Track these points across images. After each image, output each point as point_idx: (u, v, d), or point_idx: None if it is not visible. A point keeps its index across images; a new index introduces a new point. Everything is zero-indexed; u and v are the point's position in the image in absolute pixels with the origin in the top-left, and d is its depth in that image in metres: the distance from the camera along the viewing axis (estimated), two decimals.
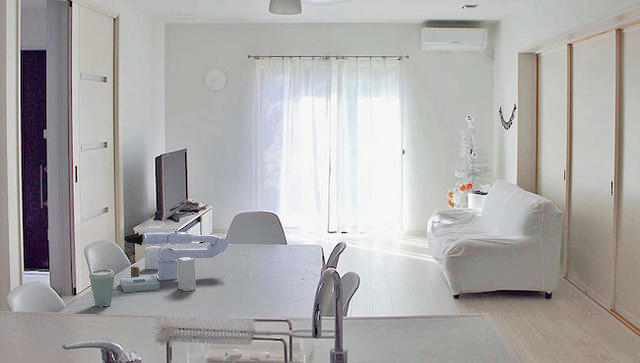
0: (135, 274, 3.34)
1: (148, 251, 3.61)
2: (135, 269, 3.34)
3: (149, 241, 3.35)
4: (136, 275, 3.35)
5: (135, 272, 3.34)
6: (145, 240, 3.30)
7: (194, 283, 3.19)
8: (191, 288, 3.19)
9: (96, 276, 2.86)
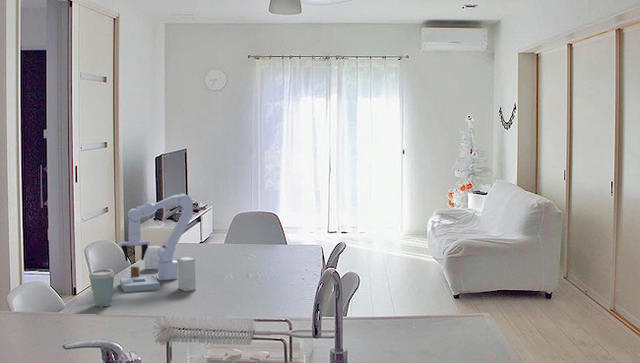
0: (135, 274, 3.34)
1: (148, 251, 3.61)
2: (135, 269, 3.34)
3: (129, 238, 3.32)
4: (136, 275, 3.35)
5: (135, 272, 3.34)
6: (119, 244, 3.32)
7: (194, 283, 3.19)
8: (191, 288, 3.19)
9: (96, 276, 2.86)
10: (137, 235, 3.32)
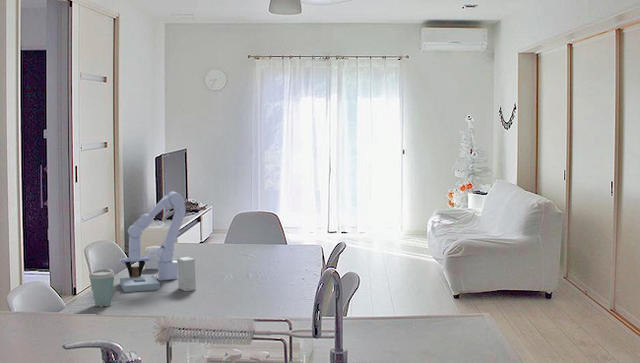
0: (135, 274, 3.34)
1: (148, 251, 3.61)
2: (135, 269, 3.34)
3: (129, 255, 3.33)
4: (136, 275, 3.35)
5: (135, 272, 3.34)
6: None
7: (194, 283, 3.19)
8: (191, 288, 3.19)
9: (96, 276, 2.86)
10: (137, 251, 3.33)
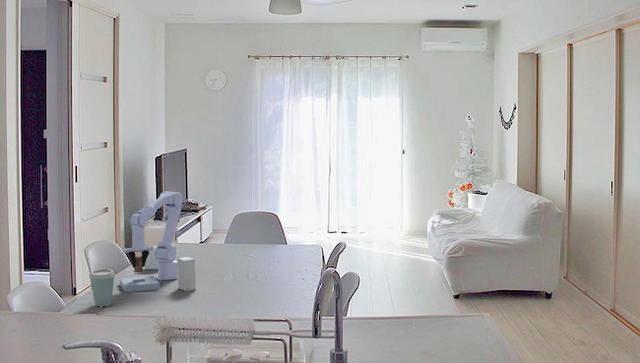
0: (139, 264, 3.23)
1: None
2: (139, 259, 3.23)
3: (133, 244, 3.22)
4: (140, 265, 3.24)
5: (139, 262, 3.23)
6: (123, 251, 3.21)
7: (194, 283, 3.19)
8: (191, 288, 3.19)
9: (96, 276, 2.86)
10: (142, 241, 3.22)
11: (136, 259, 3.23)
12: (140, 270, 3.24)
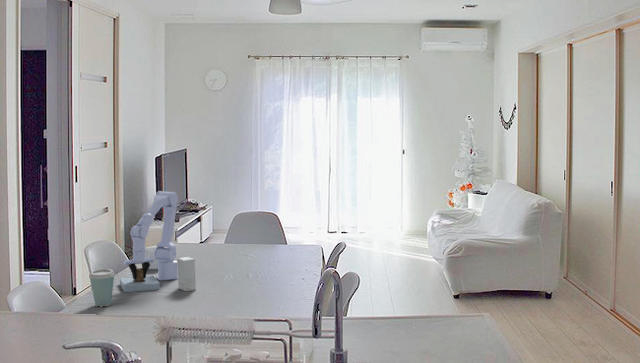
0: (140, 276, 3.23)
1: (148, 251, 3.61)
2: (140, 271, 3.23)
3: (134, 256, 3.21)
4: (141, 277, 3.23)
5: (140, 274, 3.23)
6: (124, 263, 3.19)
7: (194, 283, 3.19)
8: (191, 288, 3.19)
9: (96, 276, 2.86)
10: (143, 253, 3.22)
11: (137, 271, 3.22)
12: None
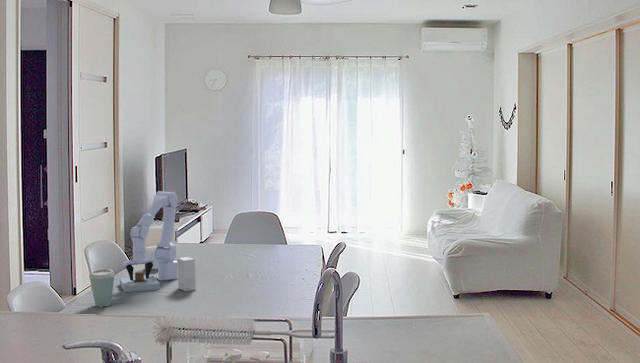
0: (140, 280, 3.23)
1: (148, 251, 3.61)
2: (140, 274, 3.23)
3: (134, 257, 3.21)
4: (141, 281, 3.23)
5: (140, 277, 3.23)
6: (124, 263, 3.19)
7: (194, 283, 3.19)
8: (191, 288, 3.19)
9: (96, 276, 2.86)
10: (143, 253, 3.22)
11: (137, 275, 3.22)
12: None
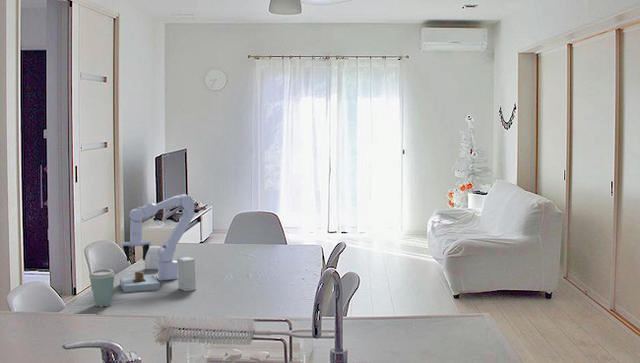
0: (140, 280, 3.23)
1: (148, 251, 3.61)
2: (140, 274, 3.23)
3: (131, 239, 3.33)
4: (141, 281, 3.23)
5: (140, 277, 3.23)
6: None
7: (194, 283, 3.19)
8: (191, 288, 3.19)
9: (96, 276, 2.86)
10: (139, 235, 3.33)
11: (137, 275, 3.22)
12: None
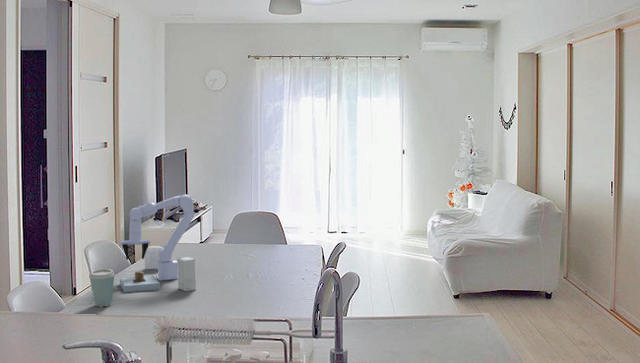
0: (140, 280, 3.23)
1: (148, 251, 3.61)
2: (140, 274, 3.23)
3: (130, 237, 3.36)
4: (141, 281, 3.23)
5: (140, 277, 3.23)
6: (120, 243, 3.35)
7: (194, 283, 3.19)
8: (191, 288, 3.19)
9: (96, 276, 2.86)
10: (138, 234, 3.36)
11: (137, 275, 3.22)
12: None
